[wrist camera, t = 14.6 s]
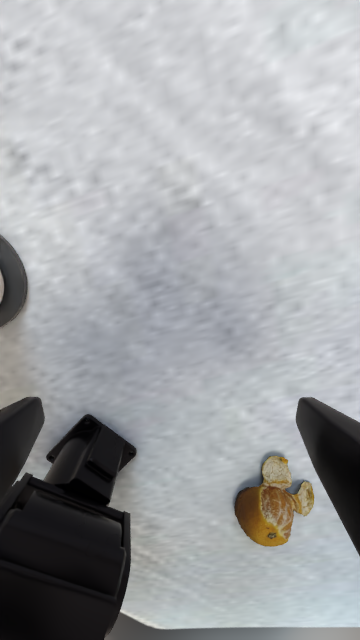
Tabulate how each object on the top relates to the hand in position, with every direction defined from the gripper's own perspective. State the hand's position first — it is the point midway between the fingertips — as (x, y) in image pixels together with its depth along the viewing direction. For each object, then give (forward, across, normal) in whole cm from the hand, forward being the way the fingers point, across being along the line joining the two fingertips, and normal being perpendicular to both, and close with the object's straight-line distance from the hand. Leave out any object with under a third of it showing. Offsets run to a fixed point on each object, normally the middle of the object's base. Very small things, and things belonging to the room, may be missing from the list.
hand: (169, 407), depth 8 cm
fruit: (+11, -11, +21) cm, 26 cm away
